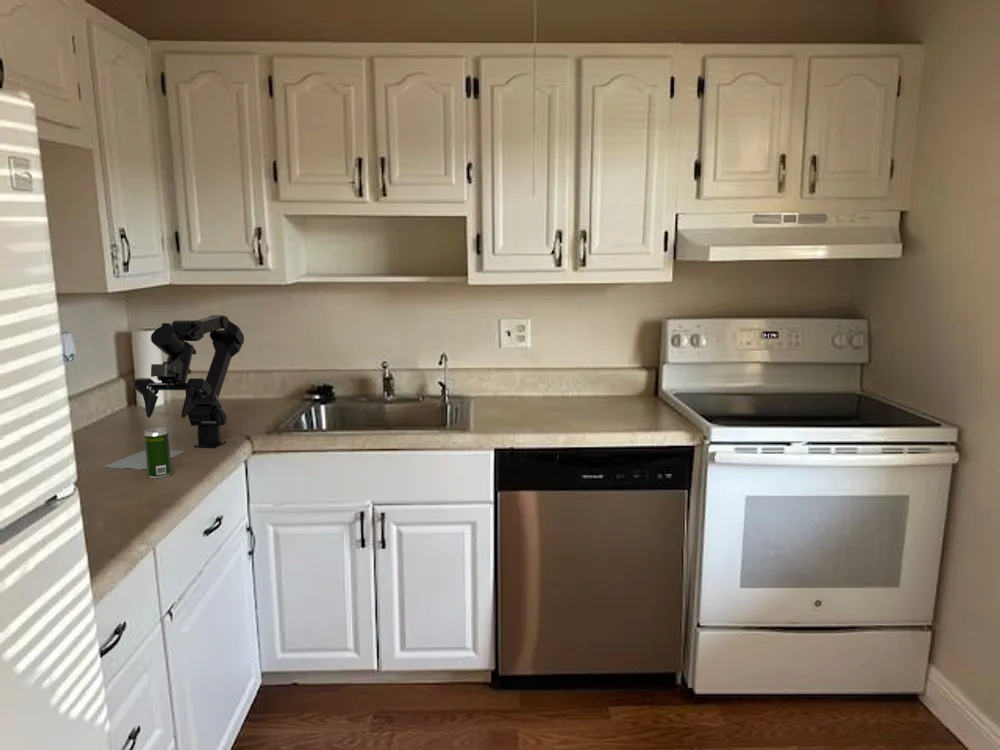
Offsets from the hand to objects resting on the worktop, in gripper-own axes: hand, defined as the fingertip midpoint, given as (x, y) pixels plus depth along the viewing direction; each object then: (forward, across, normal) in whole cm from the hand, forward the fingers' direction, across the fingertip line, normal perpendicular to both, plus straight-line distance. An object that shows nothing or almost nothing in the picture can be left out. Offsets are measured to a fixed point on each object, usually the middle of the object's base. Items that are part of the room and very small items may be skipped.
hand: (165, 417), depth 180 cm
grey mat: (+8, -10, +13) cm, 18 cm away
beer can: (+15, +1, +2) cm, 15 cm away
